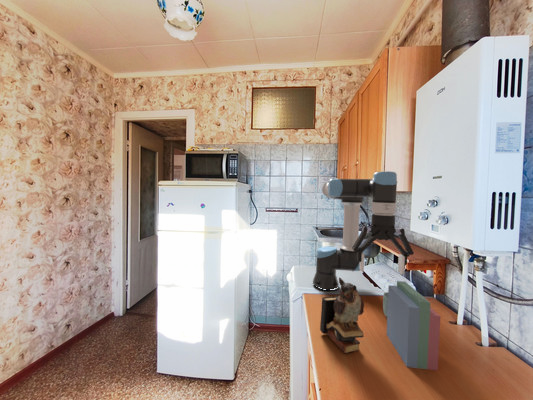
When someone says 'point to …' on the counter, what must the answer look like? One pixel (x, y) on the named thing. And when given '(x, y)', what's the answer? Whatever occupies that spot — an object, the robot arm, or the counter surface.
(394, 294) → the book row
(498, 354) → the counter surface
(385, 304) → the cup
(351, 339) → the bookend
